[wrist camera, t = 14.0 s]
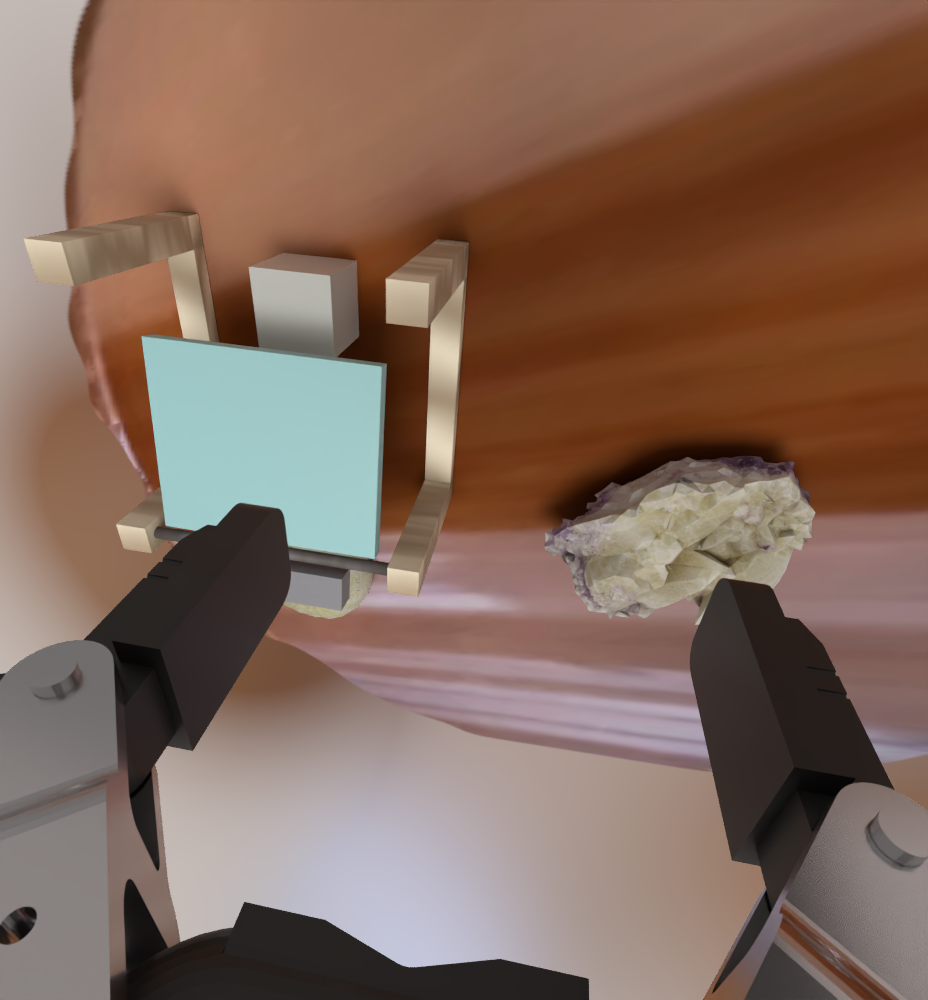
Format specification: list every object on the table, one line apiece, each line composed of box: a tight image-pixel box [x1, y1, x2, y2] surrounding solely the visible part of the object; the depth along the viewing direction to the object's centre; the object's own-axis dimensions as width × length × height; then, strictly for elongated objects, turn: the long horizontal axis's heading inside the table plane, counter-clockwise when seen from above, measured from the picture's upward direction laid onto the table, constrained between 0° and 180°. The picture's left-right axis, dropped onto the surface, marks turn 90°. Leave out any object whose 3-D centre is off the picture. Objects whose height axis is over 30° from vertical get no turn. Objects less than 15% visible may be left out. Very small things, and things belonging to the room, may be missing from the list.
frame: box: [24, 211, 469, 597], centre depth 37 cm, size 19×20×12 cm
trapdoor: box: [142, 334, 387, 611], centre depth 35 cm, size 16×14×2 cm
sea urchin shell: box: [284, 545, 373, 619], centre depth 50 cm, size 9×8×8 cm
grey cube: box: [249, 253, 359, 357], centre depth 37 cm, size 5×5×5 cm
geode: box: [545, 456, 816, 625], centre depth 41 cm, size 17×9×15 cm
